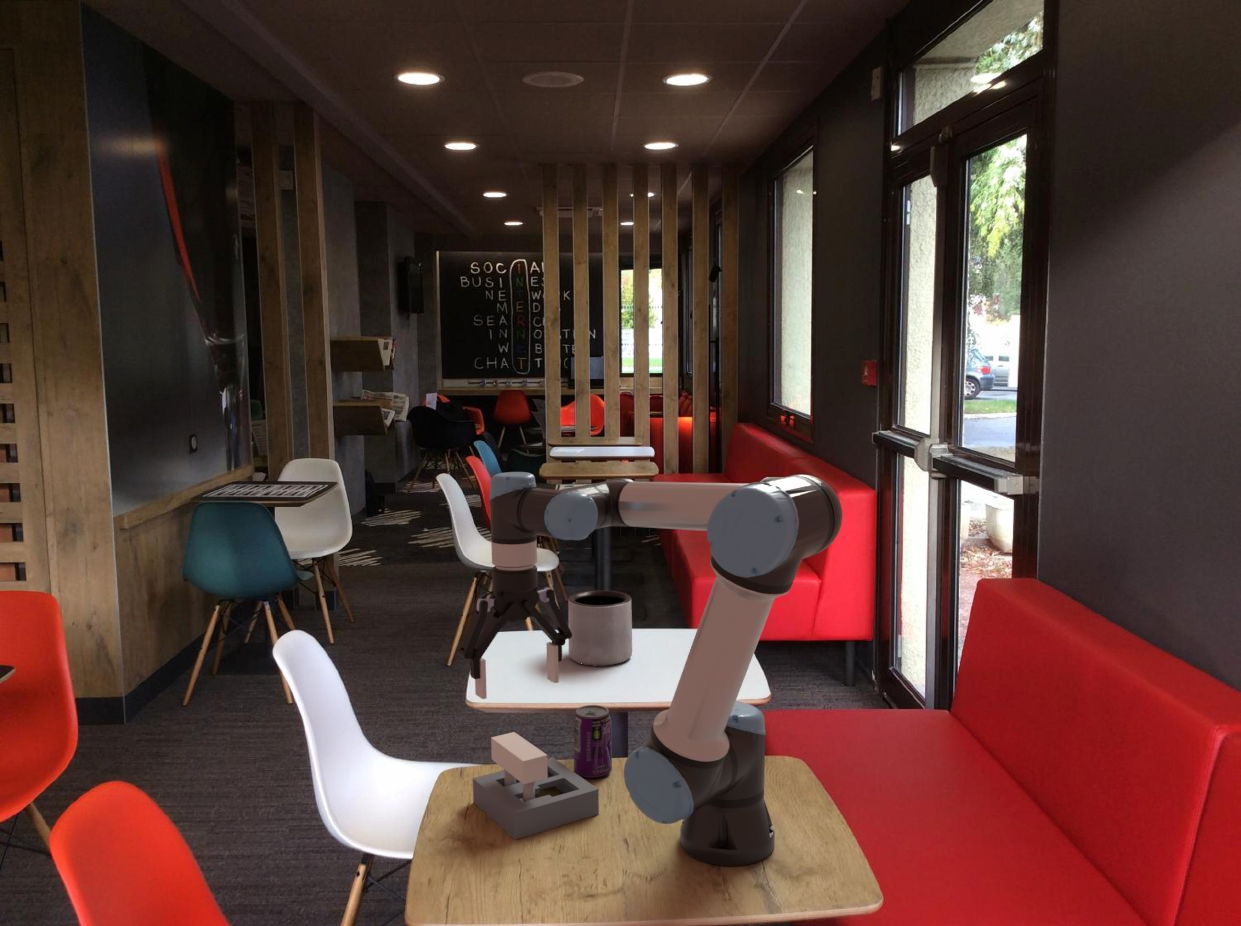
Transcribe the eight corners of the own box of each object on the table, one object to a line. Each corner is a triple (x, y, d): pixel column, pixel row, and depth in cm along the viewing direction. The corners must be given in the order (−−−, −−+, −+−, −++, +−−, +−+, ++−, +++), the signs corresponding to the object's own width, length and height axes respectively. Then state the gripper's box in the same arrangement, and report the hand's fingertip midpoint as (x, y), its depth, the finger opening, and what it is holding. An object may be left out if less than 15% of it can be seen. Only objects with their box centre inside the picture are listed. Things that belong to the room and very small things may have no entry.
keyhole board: (553, 780, 191) (552, 757, 191) (598, 814, 178) (598, 789, 177) (473, 802, 183) (472, 778, 182) (515, 839, 169) (514, 813, 169)
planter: (566, 649, 269) (566, 590, 267) (628, 646, 271) (628, 588, 269) (570, 669, 253) (569, 607, 251) (636, 666, 255) (635, 604, 253)
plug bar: (548, 822, 175) (547, 754, 173) (524, 830, 173) (523, 761, 171) (515, 796, 185) (514, 731, 183) (492, 802, 183) (491, 737, 181)
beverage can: (607, 781, 191) (606, 719, 189) (569, 778, 192) (569, 716, 190) (615, 765, 198) (614, 705, 196) (579, 762, 199) (578, 702, 197)
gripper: (568, 552, 183) (570, 668, 186) (435, 571, 170) (440, 696, 172) (590, 559, 177) (592, 680, 179) (454, 580, 163) (458, 710, 166)
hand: (517, 688), depth 176 cm, fingers open, 13 cm apart
